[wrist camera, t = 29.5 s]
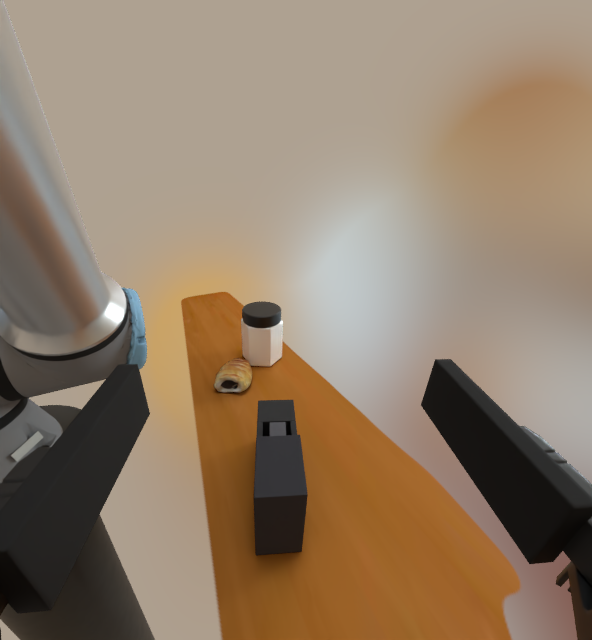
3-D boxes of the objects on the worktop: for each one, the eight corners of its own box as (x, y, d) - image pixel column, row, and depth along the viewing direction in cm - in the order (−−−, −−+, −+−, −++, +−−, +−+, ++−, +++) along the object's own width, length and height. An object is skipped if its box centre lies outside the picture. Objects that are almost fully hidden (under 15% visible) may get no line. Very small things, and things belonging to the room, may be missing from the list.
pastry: (226, 364, 61) (225, 349, 60) (257, 366, 61) (257, 351, 59) (212, 393, 53) (210, 376, 51) (248, 396, 53) (247, 379, 51)
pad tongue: (301, 551, 31) (307, 494, 26) (255, 555, 30) (253, 498, 26) (294, 468, 40) (297, 415, 35) (258, 470, 39) (257, 416, 35)
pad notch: (294, 481, 38) (297, 439, 35) (257, 483, 38) (256, 440, 34) (291, 438, 44) (293, 399, 41) (259, 440, 44) (258, 400, 40)
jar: (259, 342, 70) (259, 297, 65) (287, 353, 66) (289, 306, 61) (235, 359, 63) (232, 310, 58) (264, 372, 59) (264, 321, 54)
